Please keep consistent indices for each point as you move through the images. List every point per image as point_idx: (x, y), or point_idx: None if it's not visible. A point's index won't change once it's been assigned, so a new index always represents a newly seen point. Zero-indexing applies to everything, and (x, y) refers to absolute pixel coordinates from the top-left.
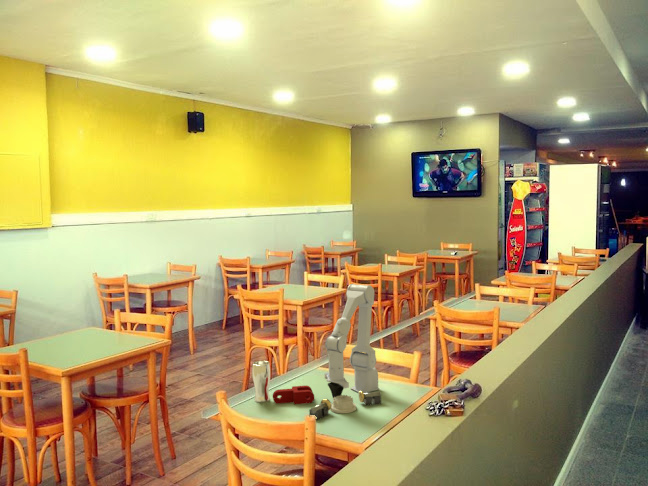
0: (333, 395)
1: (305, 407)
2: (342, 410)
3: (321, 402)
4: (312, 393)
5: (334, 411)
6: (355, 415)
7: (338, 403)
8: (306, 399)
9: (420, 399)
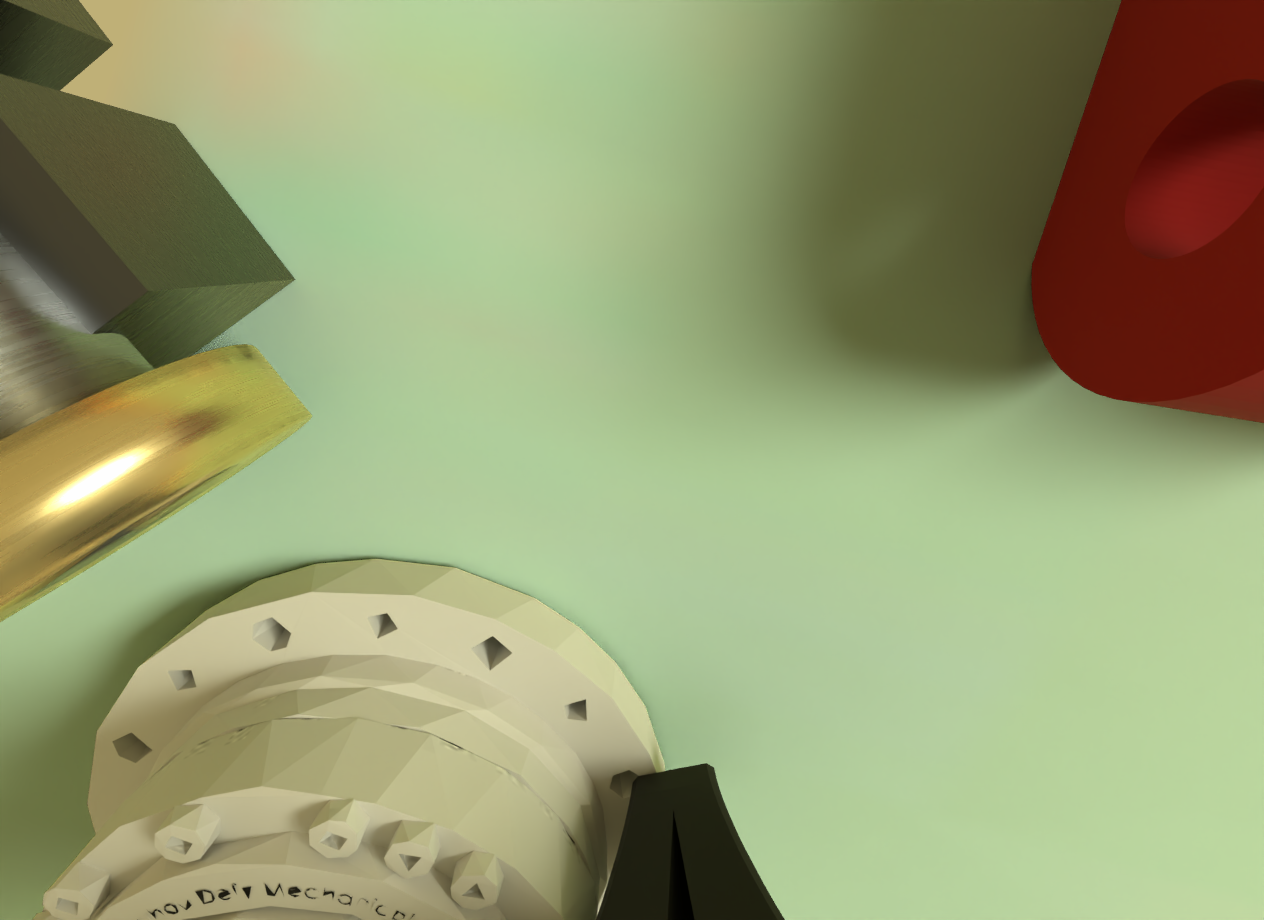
0: (693, 897)
1: (805, 6)
2: (96, 760)
3: (138, 385)
4: (1252, 355)
5: (216, 604)
6: (22, 867)
7: (102, 832)
8: (1165, 118)
9: None
